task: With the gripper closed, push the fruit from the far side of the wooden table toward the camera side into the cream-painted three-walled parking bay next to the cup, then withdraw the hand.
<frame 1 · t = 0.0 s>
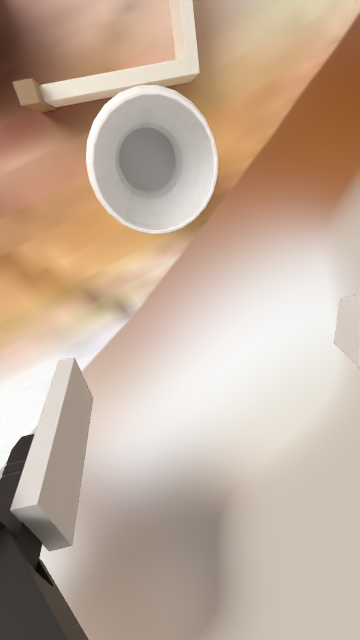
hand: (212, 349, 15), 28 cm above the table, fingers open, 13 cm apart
cup: (146, 159, 35), on the table
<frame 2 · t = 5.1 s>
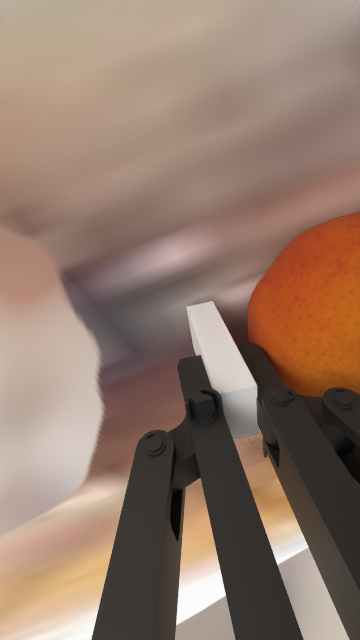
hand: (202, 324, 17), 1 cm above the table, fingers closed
fruit: (310, 287, 18), on the table, touching gripper
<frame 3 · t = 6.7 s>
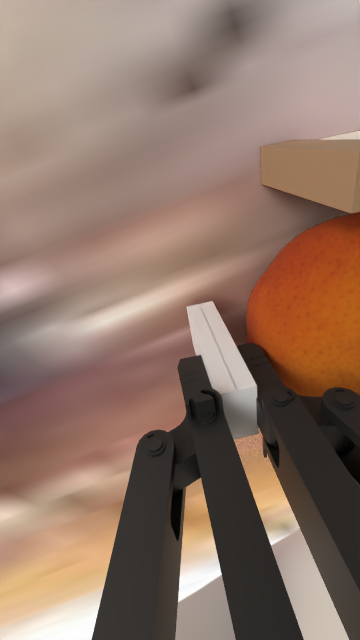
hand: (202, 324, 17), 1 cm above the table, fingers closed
fruit: (309, 286, 18), on the table, touching gripper
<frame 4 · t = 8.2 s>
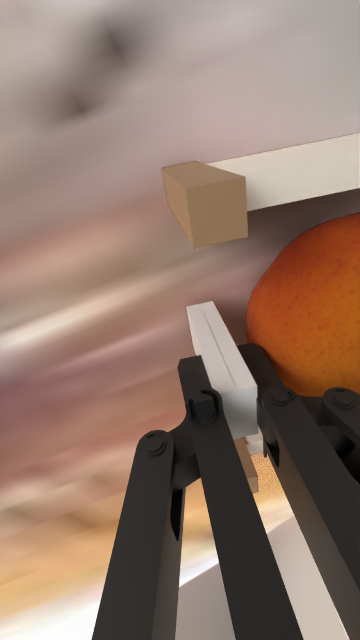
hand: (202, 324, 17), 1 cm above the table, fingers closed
fruit: (309, 287, 18), on the table, touching gripper
bay: (306, 286, 18), on the table
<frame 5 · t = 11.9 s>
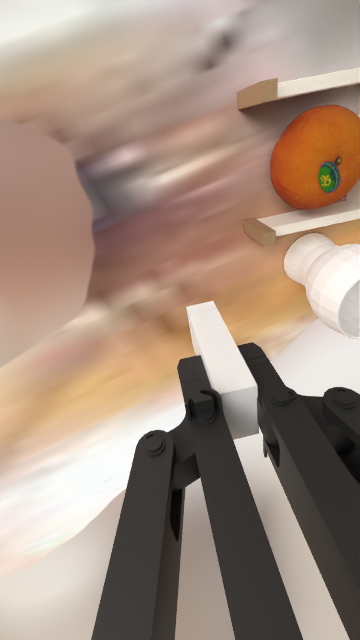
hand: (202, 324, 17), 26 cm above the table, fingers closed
cup: (306, 257, 45), on the table
fruit: (299, 159, 38), on the table
bay: (297, 158, 37), on the table
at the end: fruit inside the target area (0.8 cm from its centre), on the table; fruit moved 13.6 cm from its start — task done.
